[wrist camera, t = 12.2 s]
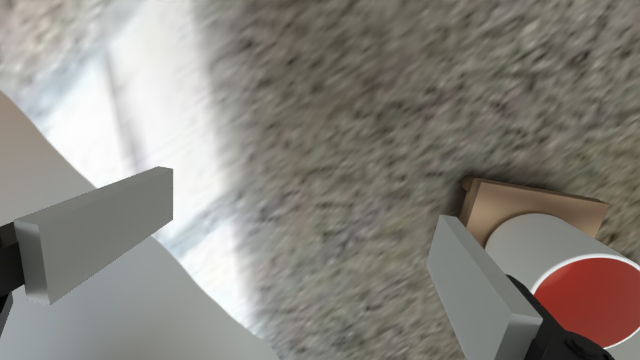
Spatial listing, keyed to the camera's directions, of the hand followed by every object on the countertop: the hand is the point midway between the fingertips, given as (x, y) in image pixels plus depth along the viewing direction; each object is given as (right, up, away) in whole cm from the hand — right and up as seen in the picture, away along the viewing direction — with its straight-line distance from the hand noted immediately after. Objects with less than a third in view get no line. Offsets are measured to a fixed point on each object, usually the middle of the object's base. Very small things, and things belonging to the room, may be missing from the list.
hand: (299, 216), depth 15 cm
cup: (+25, -6, +21) cm, 33 cm away
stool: (+26, -4, +28) cm, 39 cm away
